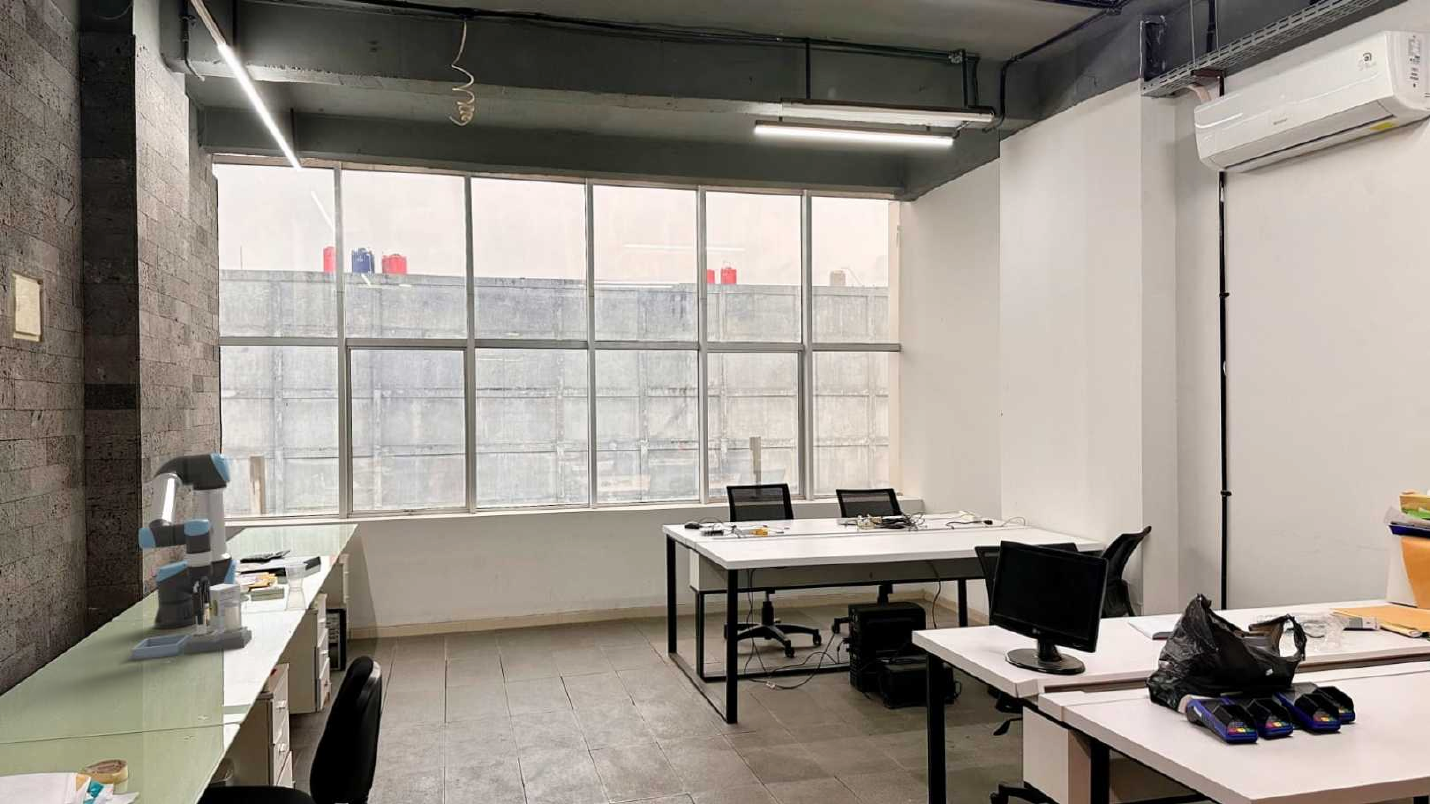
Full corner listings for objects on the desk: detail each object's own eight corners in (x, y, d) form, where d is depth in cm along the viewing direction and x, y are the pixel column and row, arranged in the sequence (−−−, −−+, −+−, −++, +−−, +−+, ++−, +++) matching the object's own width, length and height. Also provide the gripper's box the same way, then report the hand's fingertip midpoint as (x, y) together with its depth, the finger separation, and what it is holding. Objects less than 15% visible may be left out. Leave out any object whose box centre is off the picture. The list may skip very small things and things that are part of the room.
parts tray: (146, 648, 304) (145, 638, 304) (191, 643, 308) (190, 633, 308) (131, 660, 290) (130, 649, 290) (178, 654, 294) (178, 644, 294)
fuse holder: (194, 645, 305) (192, 602, 304) (251, 638, 310) (249, 596, 309) (185, 654, 294) (182, 610, 294) (244, 647, 299) (241, 603, 299)
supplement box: (202, 634, 319) (199, 588, 318) (224, 627, 327) (222, 583, 327) (220, 636, 315) (217, 590, 315) (243, 629, 324) (240, 584, 323)
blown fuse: (199, 638, 302) (197, 604, 302) (212, 636, 303) (210, 602, 303) (195, 641, 298) (193, 606, 298) (209, 640, 299) (207, 605, 299)
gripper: (194, 560, 307) (198, 626, 308) (179, 570, 291) (183, 639, 291) (218, 558, 309) (222, 624, 310) (204, 567, 293) (208, 636, 293)
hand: (203, 631), depth 301 cm, fingers closed on blown fuse, 4 cm apart
